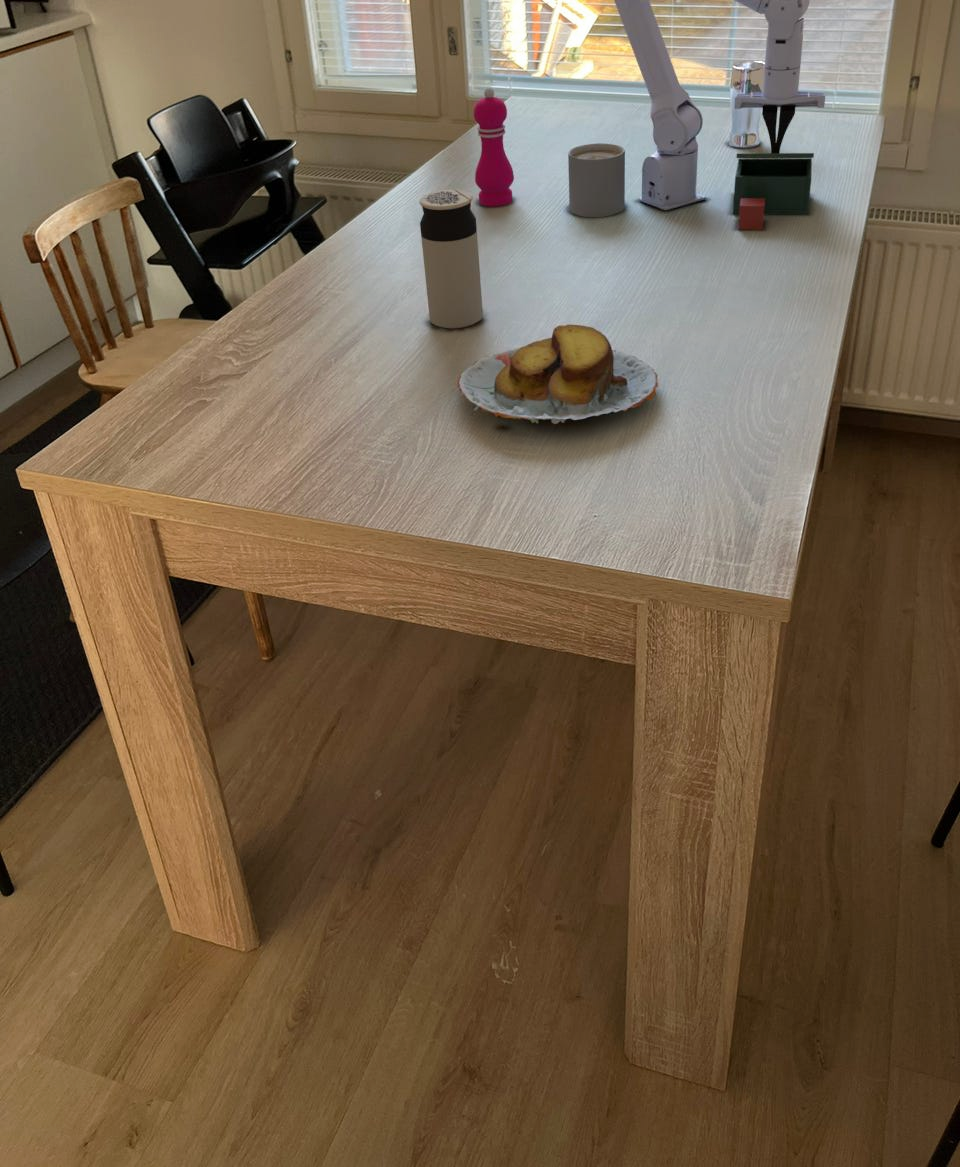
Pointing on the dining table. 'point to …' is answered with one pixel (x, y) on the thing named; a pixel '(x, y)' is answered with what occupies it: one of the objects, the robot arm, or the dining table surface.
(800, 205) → the bin
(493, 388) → the food on plate
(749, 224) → the block
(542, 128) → the dining table surface
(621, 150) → the coffee mug
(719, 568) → the dining table surface
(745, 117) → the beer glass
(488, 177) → the pepper mill
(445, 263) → the travel mug
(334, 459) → the dining table surface
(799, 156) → the bin lid
